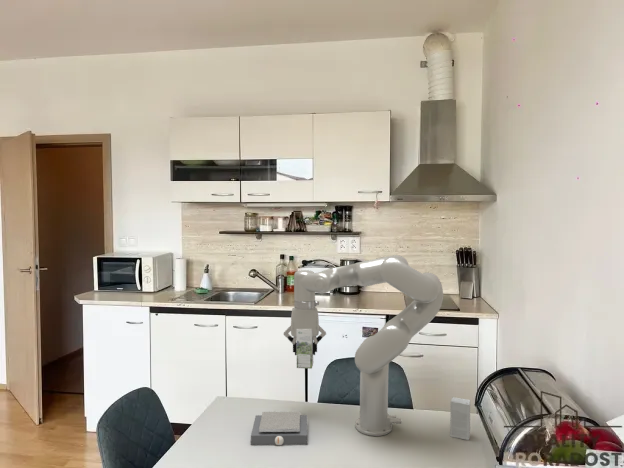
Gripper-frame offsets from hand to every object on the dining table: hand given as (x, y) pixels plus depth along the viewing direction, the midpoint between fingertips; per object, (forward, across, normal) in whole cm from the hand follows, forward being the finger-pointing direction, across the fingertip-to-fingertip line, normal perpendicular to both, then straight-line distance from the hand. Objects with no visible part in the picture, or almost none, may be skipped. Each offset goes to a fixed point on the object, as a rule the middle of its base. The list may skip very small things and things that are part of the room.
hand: (305, 353), depth 158 cm
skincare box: (+24, -52, +15) cm, 59 cm away
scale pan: (+19, +8, +13) cm, 25 cm away
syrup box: (+5, 0, 0) cm, 5 cm away
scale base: (+23, +8, +13) cm, 28 cm away
